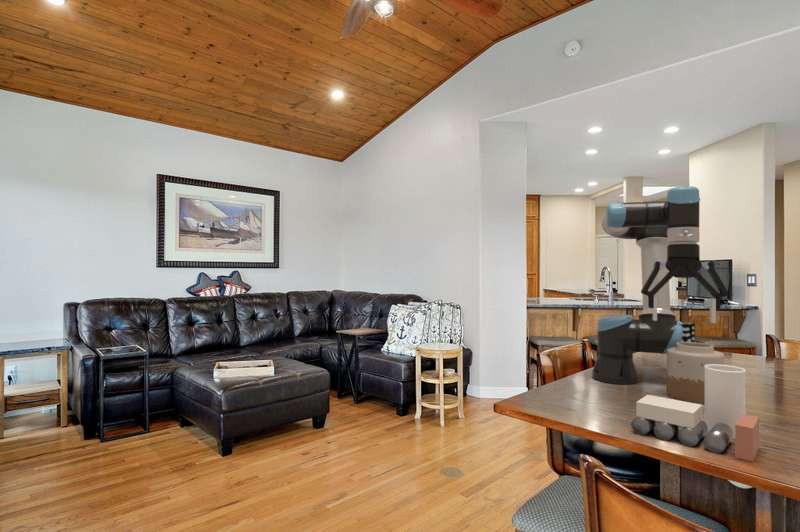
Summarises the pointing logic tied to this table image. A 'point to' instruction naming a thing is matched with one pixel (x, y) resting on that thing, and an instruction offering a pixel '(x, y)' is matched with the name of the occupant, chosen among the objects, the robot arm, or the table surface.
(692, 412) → the board
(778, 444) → the table surface
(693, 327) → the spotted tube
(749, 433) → the block
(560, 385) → the table surface
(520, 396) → the table surface
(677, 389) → the vase
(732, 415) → the cup
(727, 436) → the rollers
